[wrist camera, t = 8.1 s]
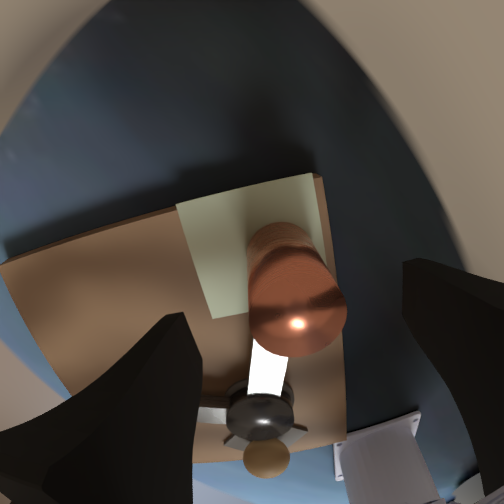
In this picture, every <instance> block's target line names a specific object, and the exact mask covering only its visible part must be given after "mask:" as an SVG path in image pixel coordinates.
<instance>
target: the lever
mask: <svg viewBox="0 0 504 504" xmlns="http://www.w3.org/2000/svg"><path fill="white" fill-rule="evenodd" d="M247 281H248V310H249V327H250V331H251V334H252V342H251V351H250V361H249V370H248V379H247V387H244V388H241V389H239V390H237V391H236V392H234V393H233V394H232V395H231V396H230V397H227V396H212V395H201V398H200V405H199V411H198V417H197V422H200V423H212V424H226V426H227V428H228V430H229V431H230V432H231V433H232V434H234V435H236V436H237V437H240V438H243V439H247V440H254V441H262V440H269V439H274V438H277V437H279V436H281V435H283V434H285V433H286V432H288V431H289V430H290V429H291V428H292V426H293V424H294V412H293V406H292V401H291V398H290V396H289V395H288V393H287V392H285V391H284V390H282V385H283V380H284V376H285V371H286V366H287V361H288V357H302V356H307V355H310V354H313V353H316V352H318V351H320V350H322V349H323V348H325V347H327V346H328V345H329V344H331V343H332V342H333V341H334V340H335V339H336V338H337V336H338V335H339V334H340V332H341V331H342V329H343V327H344V324H345V321H346V317H347V305H346V301H345V298H344V296H343V294H342V292H341V291H340V289H339V287H338V285H337V284H336V282H335V280H334V278H333V277H332V275H331V273H330V271H329V270H328V268H327V266H326V264H325V263H324V261H323V259H322V258H321V256H320V254H319V253H318V251H317V249H316V247H315V246H314V244H313V242H312V241H311V239H310V237H309V236H308V234H307V233H306V232H305V231H304V230H303V229H302V228H300V227H299V226H297V225H295V224H292V223H289V222H274V223H270V224H268V225H266V226H264V227H262V228H261V229H259V230H258V231H257V232H256V233H255V234H254V235H253V236H252V238H251V240H250V242H249V244H248V247H247Z"/></svg>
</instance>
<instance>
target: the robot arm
mask: <svg viewBox="0 0 504 504" xmlns="http://www.w3.org/2000/svg"><path fill="white" fill-rule="evenodd" d="M402 315H403V317H404V319H405V321H406V323H407V325H408V327H409V329H410V331H411V332H412V334H413V336H414V338H415V339H416V341H417V342H418V344H419V345H420V347H421V348H422V349H423V351H424V352H425V354H426V355H427V357H428V358H429V359H430V361H431V362H432V364H433V365H434V367H435V368H436V370H437V371H438V373H439V374H440V376H441V377H442V379H443V380H444V381H445V383H446V385H447V387H448V388H449V390H450V392H451V394H452V396H453V398H454V400H455V402H456V404H457V406H458V409H459V411H460V413H461V415H462V418H463V420H464V423H465V425H466V428H467V431H468V433H469V436H470V439H471V442H472V445H473V448H474V451H475V455H476V458H477V462H478V466H479V470H480V475H481V479H482V484H483V490H484V495H485V498H483V499H481V500H479V501H478V502H476V503H474V504H504V283H501V282H498V281H494V280H490V279H487V278H483V277H480V276H477V275H474V274H471V273H467V272H464V271H461V270H458V269H455V268H452V267H449V266H446V265H443V264H440V263H437V262H434V261H430V260H426V259H421V258H416V259H413V260H409V261H405V262H403V300H402ZM202 382H203V359H202V356H201V354H200V352H199V349H198V347H197V344H196V342H195V339H194V337H193V335H192V332H191V330H190V327H189V325H188V322H187V320H186V317H185V315H184V312H178V313H172V314H166V315H165V316H164V317H162V318H161V319H160V320H159V321H158V322H157V323H156V324H155V325H154V326H153V327H152V328H151V329H150V330H149V331H148V332H147V333H146V334H145V335H144V336H143V337H142V338H141V339H140V340H139V341H138V342H137V343H136V344H135V345H134V346H133V347H132V348H131V349H130V350H129V351H128V352H127V353H125V354H124V355H123V356H122V357H121V358H120V359H119V360H118V361H117V362H116V363H115V364H114V365H113V366H111V367H110V368H109V369H108V370H107V371H106V372H105V373H104V374H102V375H101V376H100V377H99V378H97V379H96V380H95V381H94V382H92V383H91V384H90V385H88V386H87V387H86V388H84V389H83V390H82V391H80V392H79V393H77V394H76V395H74V396H72V397H71V398H69V399H68V400H66V401H65V402H63V403H61V404H60V405H58V406H57V407H55V408H53V409H51V410H49V411H48V412H46V413H44V414H42V415H40V416H38V417H36V418H34V419H32V420H29V421H27V422H25V423H23V424H20V425H18V426H15V427H12V428H9V429H7V430H4V431H1V432H0V492H1V493H2V494H4V495H5V496H6V497H7V498H9V499H10V500H11V501H12V502H14V503H15V504H193V491H192V490H193V489H192V458H193V444H194V436H195V430H196V423H197V417H198V411H199V405H200V398H201V392H202ZM420 417H421V413H420V411H415V412H412V413H409V414H407V415H404V416H401V417H398V418H396V419H393V420H390V421H387V422H384V423H381V424H378V425H374V426H371V427H368V428H365V429H361V430H358V431H354V432H351V433H347V440H346V441H342V442H338V443H334V444H333V451H334V466H335V479H336V481H341V480H344V482H345V487H346V491H347V495H348V499H349V503H350V504H446V502H445V499H444V498H442V499H440V497H439V494H438V492H437V489H436V487H435V484H434V482H433V479H432V477H431V475H430V472H429V470H428V468H427V465H426V463H425V461H424V458H423V456H422V454H421V451H420V449H419V447H418V445H417V442H416V440H415V438H414V437H415V434H416V431H417V427H418V424H419V420H420ZM448 504H460V503H456V502H454V501H452V502H450V503H448Z"/></svg>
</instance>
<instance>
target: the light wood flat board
mask: <svg viewBox="0 0 504 504" xmlns="http://www.w3.org/2000/svg"><path fill="white" fill-rule="evenodd" d="M274 222H289V223H292V224H295V225H297V226H299V227H300V228H302V229H303V230H304V231H305V232H306V233H307V234H308V236H309V237H310V239H311V241H312V242H313V244H314V246H315V247H316V249H317V251H318V253H319V254H320V256H321V258H322V259H323V261H324V263H325V264H326V266H327V268H328V270H329V271H330V273H331V275H332V277H333V278H334V280H335V282H336V284H337V277H336V268H335V260H334V252H333V245H332V238H331V231H330V224H329V217H328V211H327V204H326V198H325V192H324V186H323V181H322V177H321V176H319V175H318V174H316V173H315V174H312V173H307V174H302V175H297V176H292V177H287V178H282V179H278V180H273V181H268V182H264V183H259V184H255V185H250V186H246V187H242V188H237V189H233V190H229V191H225V192H221V193H217V194H213V195H209V196H205V197H201V198H197V199H193V200H189V201H185V202H181V203H178V204H176V206H172V207H169V208H165V209H161V210H158V211H154V212H150V213H147V214H143V215H140V216H136V217H133V218H130V219H126V220H123V221H119V222H116V223H113V224H110V225H106V226H103V227H100V228H97V229H93V230H90V231H87V232H84V233H81V234H78V235H75V236H72V237H69V238H66V239H63V240H60V241H57V242H54V243H51V244H48V245H45V246H42V247H39V248H37V249H34V250H31V251H28V252H25V253H23V254H20V255H17V256H15V257H12V258H9V259H7V260H6V261H5V262H3V263H2V264H0V273H1V275H2V277H3V280H4V282H5V284H6V286H7V288H8V291H9V293H10V295H11V297H12V299H13V301H14V303H15V305H16V307H17V309H18V311H19V313H20V315H21V316H22V318H23V320H24V322H25V324H26V326H27V327H28V329H29V331H30V333H31V335H32V336H33V338H34V340H35V341H36V343H37V345H38V346H39V348H40V350H41V351H42V353H43V354H44V356H45V358H46V359H47V361H48V362H49V364H50V365H51V367H52V368H53V370H54V371H55V373H56V374H57V376H58V377H59V379H60V380H61V382H62V383H63V384H64V386H65V387H66V389H67V390H68V391H69V393H70V394H71V395H72V396H74V395H76V394H77V393H79V392H80V391H82V390H83V389H84V388H86V387H87V386H88V385H90V384H91V383H92V382H94V381H95V380H96V379H97V378H99V377H100V376H101V375H102V374H104V373H105V372H106V371H107V370H108V369H109V368H110V367H111V366H113V365H114V364H115V363H116V362H117V361H118V360H119V359H120V358H121V357H122V356H123V355H124V354H125V353H127V352H128V351H129V350H130V349H131V348H132V347H133V346H134V345H135V344H136V343H137V342H138V341H139V340H140V339H141V338H142V337H143V336H144V335H145V334H146V333H147V332H148V331H149V330H150V329H151V328H152V327H153V326H154V325H155V324H156V323H157V322H158V321H159V320H160V319H161V318H162V317H164V316H165V315H166V314H172V313H178V312H184V315H185V317H186V320H187V322H188V325H189V327H190V330H191V332H192V335H193V337H194V339H195V342H196V344H197V347H198V349H199V352H200V354H201V356H202V359H203V382H202V392H201V395H212V396H227V397H230V396H231V395H232V394H233V393H234V392H236V391H237V390H239V389H241V388H244V387H247V379H248V370H249V361H250V351H251V342H252V334H251V331H250V327H249V310H248V281H247V247H248V244H249V242H250V240H251V238H252V236H253V235H254V234H255V233H256V232H257V231H258V230H259V229H261V228H262V227H264V226H266V225H268V224H270V223H274ZM282 390H284V391H285V392H287V393H288V395H289V396H290V398H291V401H292V406H293V412H294V424H293V426H292V428H291V429H290V430H289V431H288V432H286V433H285V434H283V435H281V436H279V437H277V438H274V439H269V440H262V441H254V440H247V439H243V438H240V437H237V436H236V435H234V434H232V433H231V432H230V431H229V430H228V428H227V426H226V424H212V423H200V422H197V423H196V430H195V436H194V444H193V458H192V463H210V462H224V461H235V460H243V462H244V465H245V467H246V469H247V470H248V471H249V472H250V473H251V474H252V475H254V476H256V477H259V478H273V477H276V476H278V475H280V474H281V473H283V472H284V471H285V469H286V468H287V466H288V464H289V461H290V454H289V453H292V452H298V451H303V450H308V449H312V448H317V447H321V446H326V445H330V444H334V443H338V442H342V441H346V440H347V422H346V390H345V370H344V353H343V339H342V331H341V332H340V334H339V335H338V336H337V338H336V339H335V340H334V341H333V342H332V343H331V344H329V345H328V346H327V347H325V348H323V349H322V350H320V351H318V352H316V353H313V354H310V355H307V356H302V357H288V361H287V366H286V371H285V376H284V380H283V385H282Z"/></svg>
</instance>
